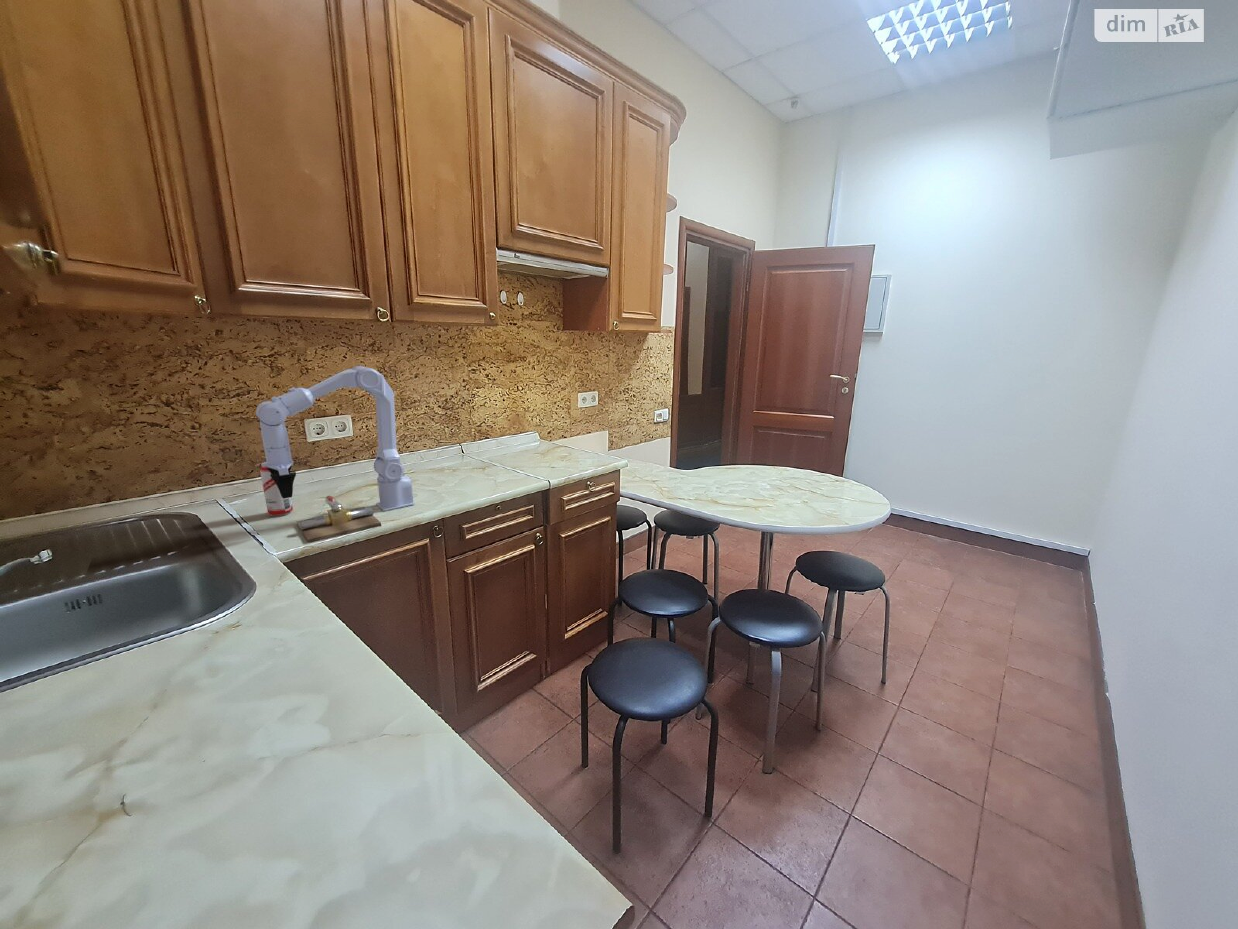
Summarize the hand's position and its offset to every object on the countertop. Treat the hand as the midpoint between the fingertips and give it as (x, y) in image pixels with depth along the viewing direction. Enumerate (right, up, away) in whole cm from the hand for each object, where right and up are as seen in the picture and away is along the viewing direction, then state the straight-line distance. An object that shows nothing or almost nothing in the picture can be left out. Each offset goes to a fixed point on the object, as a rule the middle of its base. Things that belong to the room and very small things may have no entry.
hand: (285, 493), depth 132 cm
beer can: (-10, -7, +12) cm, 17 cm away
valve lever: (+9, -4, +6) cm, 12 cm away
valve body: (+12, -9, +5) cm, 16 cm away
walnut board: (+12, -9, +5) cm, 16 cm away
